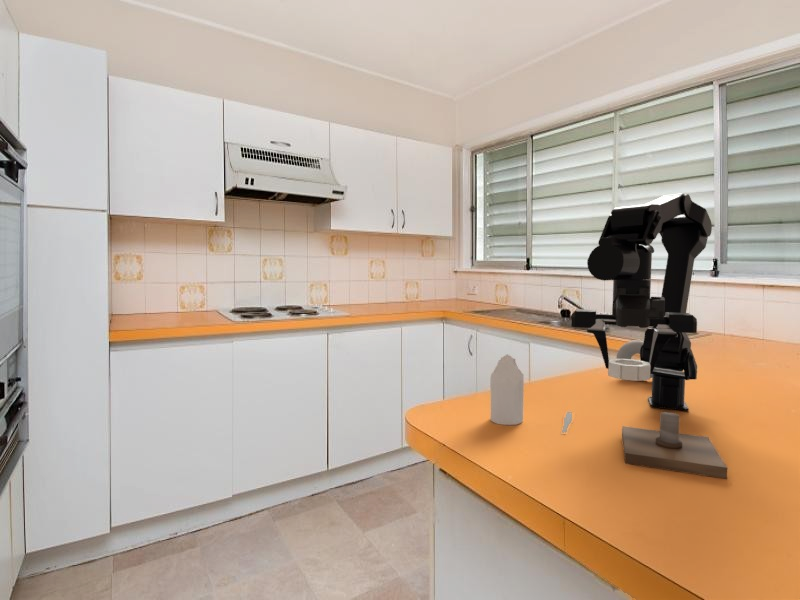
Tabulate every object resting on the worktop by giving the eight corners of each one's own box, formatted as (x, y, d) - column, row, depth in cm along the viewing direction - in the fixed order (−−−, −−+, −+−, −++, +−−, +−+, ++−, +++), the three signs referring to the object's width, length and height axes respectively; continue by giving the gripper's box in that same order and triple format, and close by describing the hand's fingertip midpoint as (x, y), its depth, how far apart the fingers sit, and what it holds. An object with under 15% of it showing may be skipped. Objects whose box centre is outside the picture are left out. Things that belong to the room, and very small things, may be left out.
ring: (607, 370, 83) (608, 357, 83) (647, 373, 81) (648, 360, 81) (608, 378, 78) (608, 364, 77) (651, 382, 75) (651, 367, 75)
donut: (614, 379, 114) (615, 339, 114) (616, 376, 117) (617, 337, 116) (660, 384, 109) (662, 342, 108) (661, 381, 112) (663, 340, 111)
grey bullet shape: (497, 358, 79) (486, 352, 85) (496, 426, 80) (485, 416, 86) (529, 357, 80) (516, 351, 86) (528, 424, 81) (515, 414, 87)
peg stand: (621, 435, 76) (623, 399, 75) (707, 446, 71) (709, 408, 71) (625, 463, 65) (626, 421, 64) (726, 478, 60) (729, 434, 60)
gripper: (570, 280, 75) (568, 374, 76) (706, 281, 67) (701, 386, 68) (574, 278, 85) (572, 362, 86) (692, 280, 77) (688, 371, 78)
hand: (628, 369), depth 79 cm, fingers closed on ring, 6 cm apart
